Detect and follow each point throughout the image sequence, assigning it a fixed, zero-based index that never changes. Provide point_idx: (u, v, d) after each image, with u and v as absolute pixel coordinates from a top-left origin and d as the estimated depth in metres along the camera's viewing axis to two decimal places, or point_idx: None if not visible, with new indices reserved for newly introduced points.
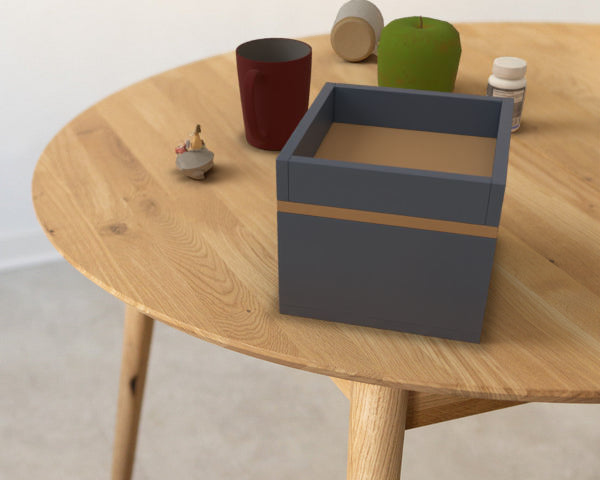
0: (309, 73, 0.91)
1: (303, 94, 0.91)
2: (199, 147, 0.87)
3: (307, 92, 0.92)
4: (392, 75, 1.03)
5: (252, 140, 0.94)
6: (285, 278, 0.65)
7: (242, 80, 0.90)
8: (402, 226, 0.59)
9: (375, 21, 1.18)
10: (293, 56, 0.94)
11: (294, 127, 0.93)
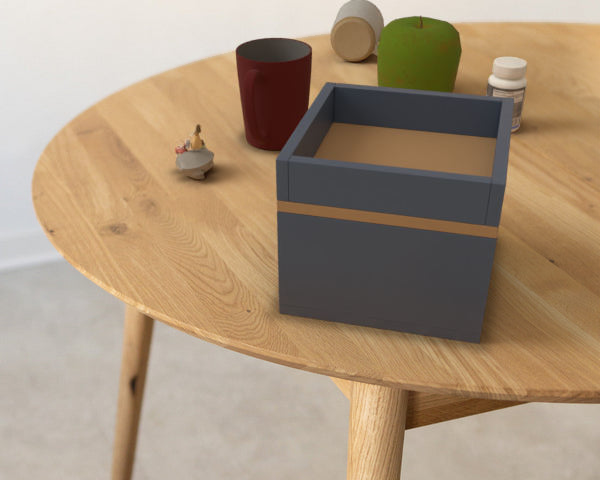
0: (309, 73, 0.91)
1: (303, 94, 0.91)
2: (199, 147, 0.87)
3: (307, 92, 0.92)
4: (392, 75, 1.03)
5: (252, 140, 0.94)
6: (285, 278, 0.65)
7: (242, 80, 0.90)
8: (402, 226, 0.59)
9: (375, 21, 1.18)
10: (293, 56, 0.94)
11: (294, 127, 0.93)
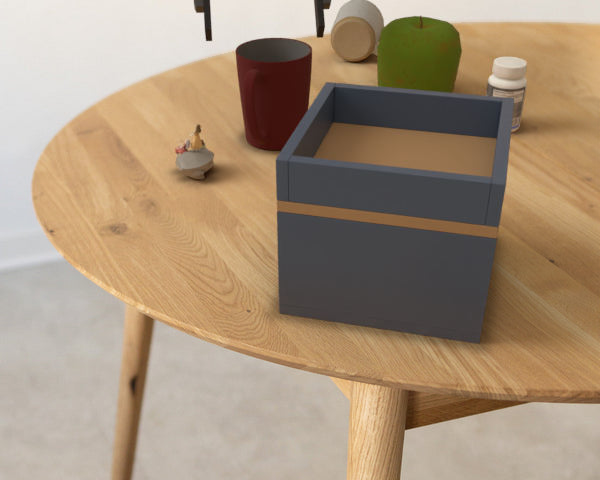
0: (309, 73, 0.91)
1: (303, 94, 0.91)
2: (199, 147, 0.87)
3: (307, 92, 0.92)
4: (392, 75, 1.03)
5: (252, 140, 0.94)
6: (285, 278, 0.65)
7: (242, 80, 0.90)
8: (402, 226, 0.59)
9: (375, 21, 1.18)
10: (293, 56, 0.94)
11: (294, 127, 0.93)
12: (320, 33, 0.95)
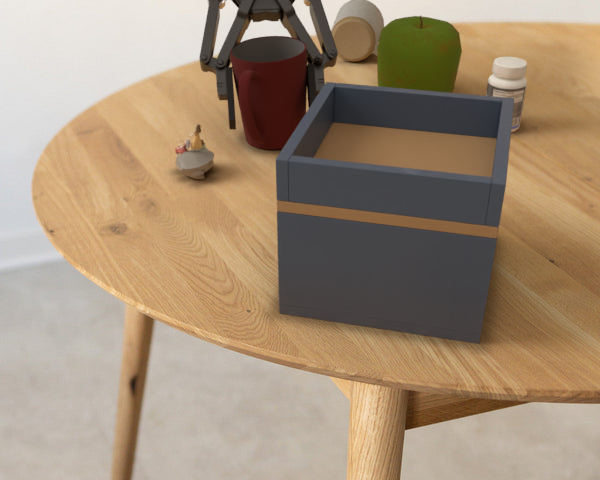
0: (305, 70, 0.90)
1: (300, 92, 0.91)
2: (199, 147, 0.87)
3: (304, 89, 0.92)
4: (392, 75, 1.03)
5: (251, 140, 0.94)
6: (285, 278, 0.65)
7: (238, 81, 0.90)
8: (402, 226, 0.59)
9: (375, 21, 1.18)
10: (289, 53, 0.94)
11: (292, 125, 0.93)
12: None
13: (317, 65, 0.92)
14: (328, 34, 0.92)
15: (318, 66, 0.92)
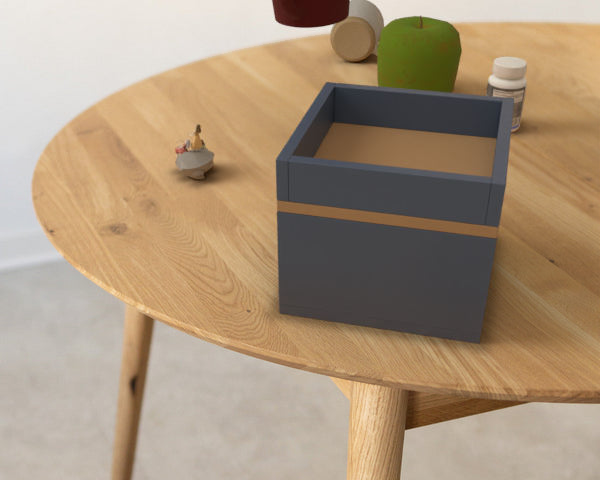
0: None
1: None
2: (199, 147, 0.87)
3: None
4: (392, 75, 1.03)
5: (283, 17, 0.76)
6: (285, 278, 0.65)
7: None
8: (402, 226, 0.59)
9: (375, 21, 1.18)
10: None
11: None
12: None
13: None
14: None
15: None
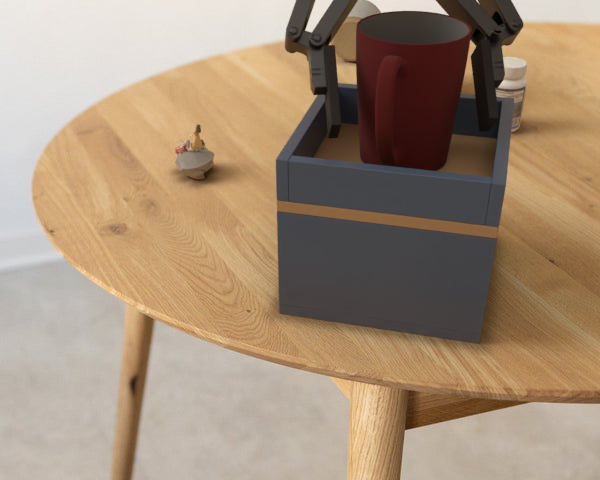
0: (466, 62, 0.61)
1: (456, 94, 0.61)
2: (199, 147, 0.87)
3: (460, 91, 0.62)
4: None
5: (373, 161, 0.64)
6: (285, 278, 0.65)
7: (367, 72, 0.60)
8: (402, 226, 0.59)
9: None
10: (433, 38, 0.64)
11: (438, 142, 0.63)
12: (488, 126, 0.62)
13: (494, 42, 0.62)
14: None
15: (494, 43, 0.62)
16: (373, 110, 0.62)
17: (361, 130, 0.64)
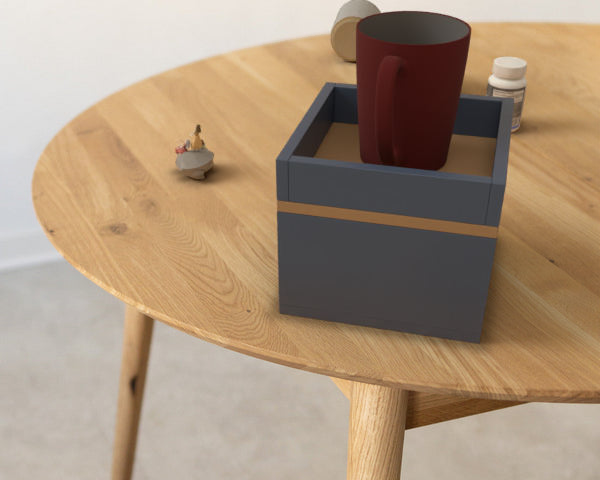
0: (466, 62, 0.61)
1: (456, 94, 0.61)
2: (199, 147, 0.87)
3: (460, 91, 0.62)
4: None
5: (373, 161, 0.64)
6: (285, 278, 0.65)
7: (367, 73, 0.60)
8: (402, 226, 0.59)
9: None
10: (433, 38, 0.64)
11: (438, 142, 0.63)
12: None
13: None
14: None
15: None
16: (373, 110, 0.62)
17: (361, 130, 0.64)
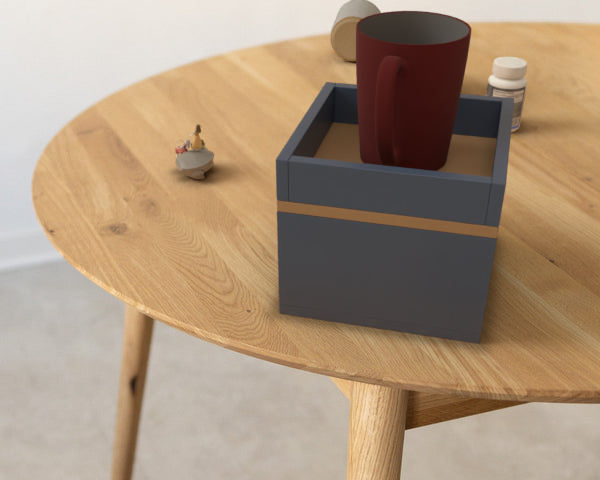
0: (466, 62, 0.61)
1: (456, 94, 0.61)
2: (199, 147, 0.87)
3: (460, 91, 0.62)
4: None
5: (373, 161, 0.64)
6: (285, 278, 0.65)
7: (367, 73, 0.60)
8: (402, 226, 0.59)
9: None
10: (433, 38, 0.64)
11: (438, 142, 0.63)
12: None
13: None
14: None
15: None
16: (373, 110, 0.62)
17: (361, 130, 0.64)
